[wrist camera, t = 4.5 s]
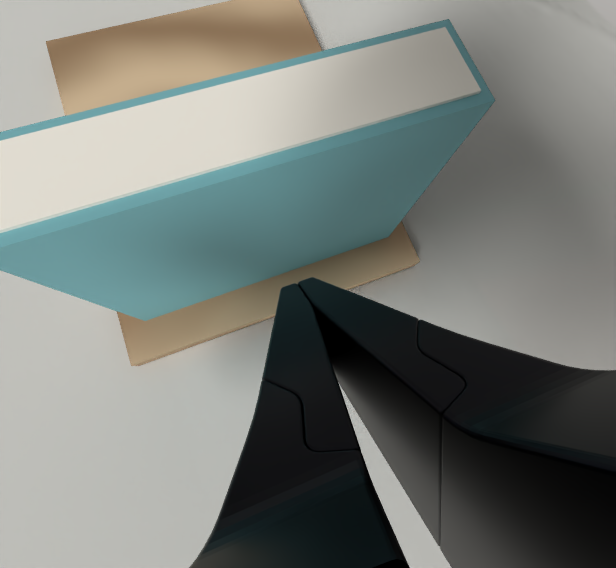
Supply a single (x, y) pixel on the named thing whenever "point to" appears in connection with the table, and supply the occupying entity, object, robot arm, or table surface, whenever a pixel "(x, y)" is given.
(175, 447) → the table surface
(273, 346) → the robot arm
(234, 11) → the cork mat
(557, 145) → the table surface
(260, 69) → the notebook
